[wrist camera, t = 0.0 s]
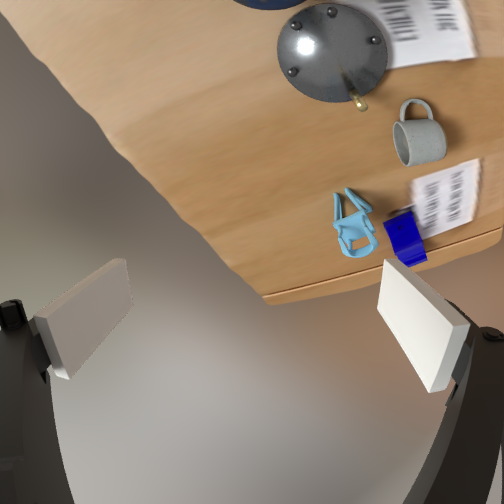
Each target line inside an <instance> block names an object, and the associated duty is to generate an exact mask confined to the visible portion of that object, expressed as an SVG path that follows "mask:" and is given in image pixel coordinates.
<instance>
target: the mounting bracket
mask: <svg viewBox="0 0 504 504" xmlns="http://www.w3.org/2000/svg"><path fill="white" fill-rule="evenodd" d="M383 224H384V227H385V229H386V231H387V233H388V236H389V238H390V240H391V243H392V247H393V250H394V253H395V255H397V257H398V259H399V260H400V261H401V262H402V263H403V264H405V265H406V266H407V267H408V268H409V267H411V266H414V265H416V264H419V263H422V262H424V261H427V256H426V253H425V250H424V247H423V242H422V239H421V237H420V234H419V232H418V229H417V226H416V223H415V220H414V217H413V215H412V212H411V211H410V212H407V213H405V214H403V215H400V216H398V217H395V218H393V219H391V220H388V221H386V222H383Z"/></svg>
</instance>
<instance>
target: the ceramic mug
mask: <svg viewBox="0 0 504 504" xmlns="http://www.w3.org/2000/svg"><path fill="white" fill-rule="evenodd" d="M409 103H417V104H422V105H423V106H424V107H425V109H426V111H427V114H428V119H420V120H405V119H404V116H405V109H406V107H407V106H408V104H409ZM393 139H394V144H395V148H396V152H397V154H398V156H399V158H400V160H401V162H402V163H403V164H404V166H406V167H410V166H414V165H419V164H424V163H428V162H433V161H438V160H440V159H442V158H444V157H445V156H446V154H447V151H448V140H447V136H446V133H445V130H444V128H443V127H442V125H441V124H440V123H439V122H438V121H436V120H434V119H433V114H432V111H431V109H430V107H429V105H428V104H427V103H425V102H424V101H423V100H420V99H408V100H406V101H405V102H404V103H403V104H402V106H401V109H400V121H396V122H395V123H394V125H393Z"/></svg>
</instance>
